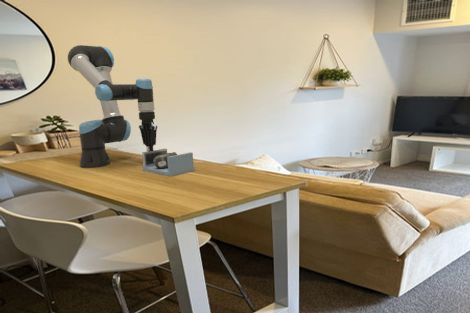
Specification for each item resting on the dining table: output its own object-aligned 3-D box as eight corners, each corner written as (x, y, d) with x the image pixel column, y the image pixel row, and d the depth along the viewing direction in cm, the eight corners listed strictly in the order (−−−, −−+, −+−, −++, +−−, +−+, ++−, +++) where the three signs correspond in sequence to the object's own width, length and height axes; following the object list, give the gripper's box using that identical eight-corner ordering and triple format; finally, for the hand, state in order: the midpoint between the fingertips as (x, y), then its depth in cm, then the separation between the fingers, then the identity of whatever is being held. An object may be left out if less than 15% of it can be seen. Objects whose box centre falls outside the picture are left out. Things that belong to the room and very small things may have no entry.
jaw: (143, 166, 163) (142, 152, 162) (165, 162, 172) (164, 148, 171) (145, 167, 162) (144, 152, 160) (168, 162, 171) (167, 148, 169)
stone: (167, 178, 155) (155, 160, 152) (160, 178, 161) (148, 161, 158) (188, 160, 163) (177, 143, 160) (180, 161, 169) (169, 144, 165)
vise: (142, 170, 163) (140, 152, 162) (166, 165, 173) (165, 148, 171) (169, 176, 148) (168, 157, 147) (194, 170, 158) (193, 152, 157)
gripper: (132, 111, 167) (137, 159, 171) (147, 111, 158) (151, 161, 162) (145, 110, 172) (150, 156, 176) (160, 110, 163) (164, 159, 168)
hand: (150, 158), depth 169 cm, fingers closed
